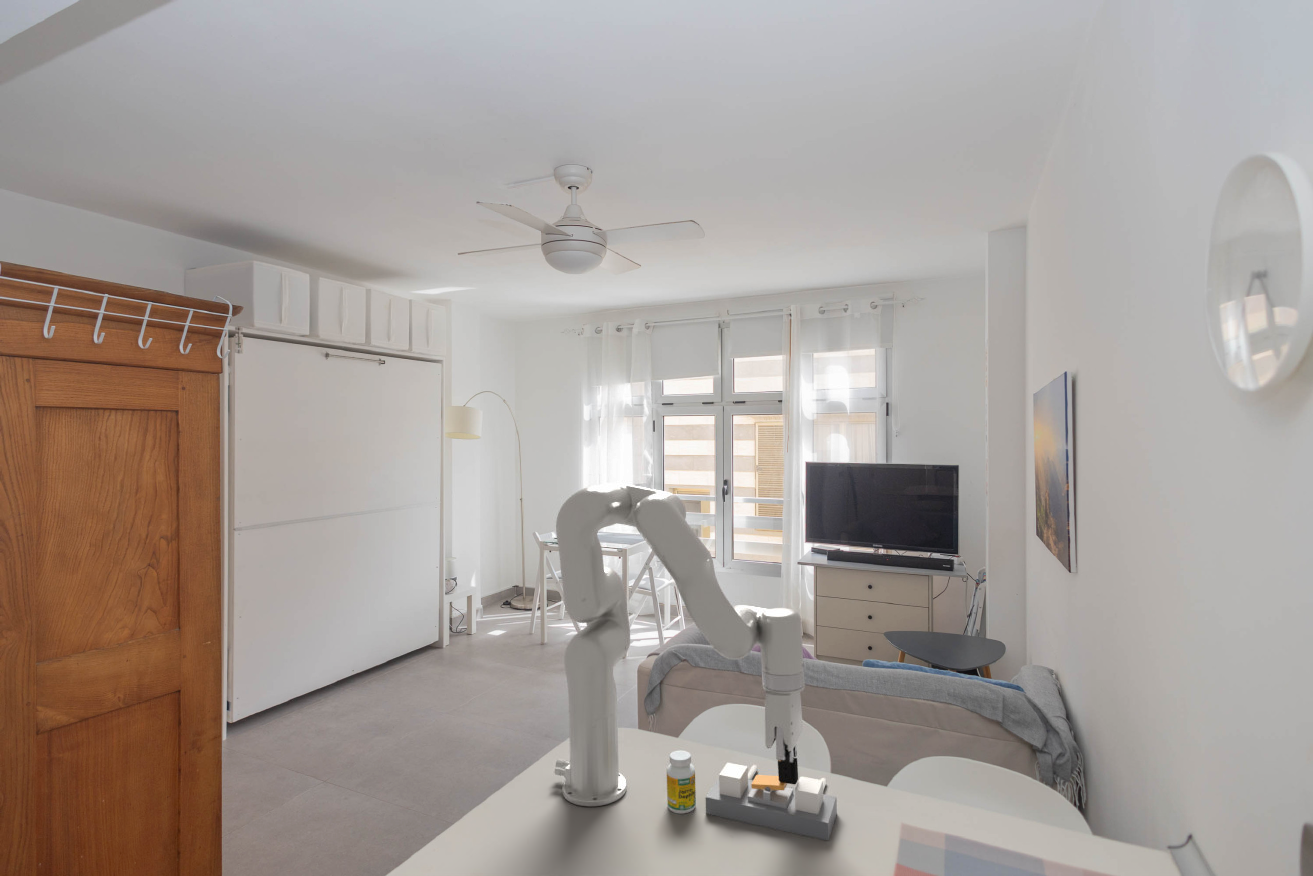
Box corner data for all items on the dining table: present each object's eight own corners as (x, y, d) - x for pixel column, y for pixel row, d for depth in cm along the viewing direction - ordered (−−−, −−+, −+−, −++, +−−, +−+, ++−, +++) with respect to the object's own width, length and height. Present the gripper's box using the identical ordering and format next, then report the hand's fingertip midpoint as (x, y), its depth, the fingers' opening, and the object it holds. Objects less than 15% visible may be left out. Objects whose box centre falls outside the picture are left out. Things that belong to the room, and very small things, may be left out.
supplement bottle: (684, 796, 126) (683, 745, 126) (701, 808, 121) (700, 756, 122) (661, 804, 123) (660, 753, 123) (678, 818, 118) (677, 764, 119)
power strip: (705, 813, 120) (705, 777, 120) (736, 766, 137) (736, 735, 137) (828, 841, 111) (827, 802, 111) (844, 786, 128) (844, 753, 128)
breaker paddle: (752, 792, 119) (750, 784, 119) (757, 781, 122) (756, 774, 122) (784, 793, 116) (783, 786, 116) (789, 783, 120) (788, 776, 120)
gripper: (772, 664, 127) (778, 759, 126) (751, 691, 113) (757, 798, 113) (811, 667, 124) (817, 765, 123) (794, 696, 110) (800, 806, 110)
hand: (788, 781), depth 118 cm, fingers closed
